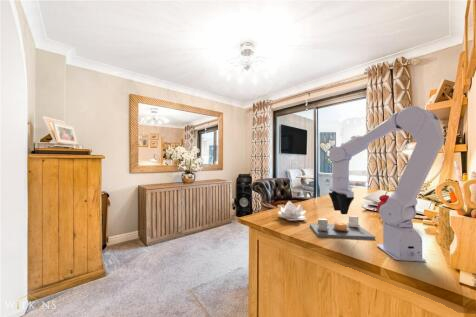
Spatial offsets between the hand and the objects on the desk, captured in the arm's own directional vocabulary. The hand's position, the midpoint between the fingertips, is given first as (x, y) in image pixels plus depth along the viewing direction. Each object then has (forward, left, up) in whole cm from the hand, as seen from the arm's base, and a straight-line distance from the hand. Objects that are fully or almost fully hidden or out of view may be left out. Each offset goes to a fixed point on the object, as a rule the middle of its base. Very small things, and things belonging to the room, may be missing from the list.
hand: (340, 212), depth 77 cm
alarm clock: (+18, -29, -9) cm, 35 cm away
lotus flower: (+17, +16, -9) cm, 25 cm away
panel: (+1, 0, -8) cm, 8 cm away
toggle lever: (+5, -7, -7) cm, 11 cm away
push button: (0, 0, -7) cm, 7 cm away
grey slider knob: (-1, +7, -7) cm, 10 cm away
